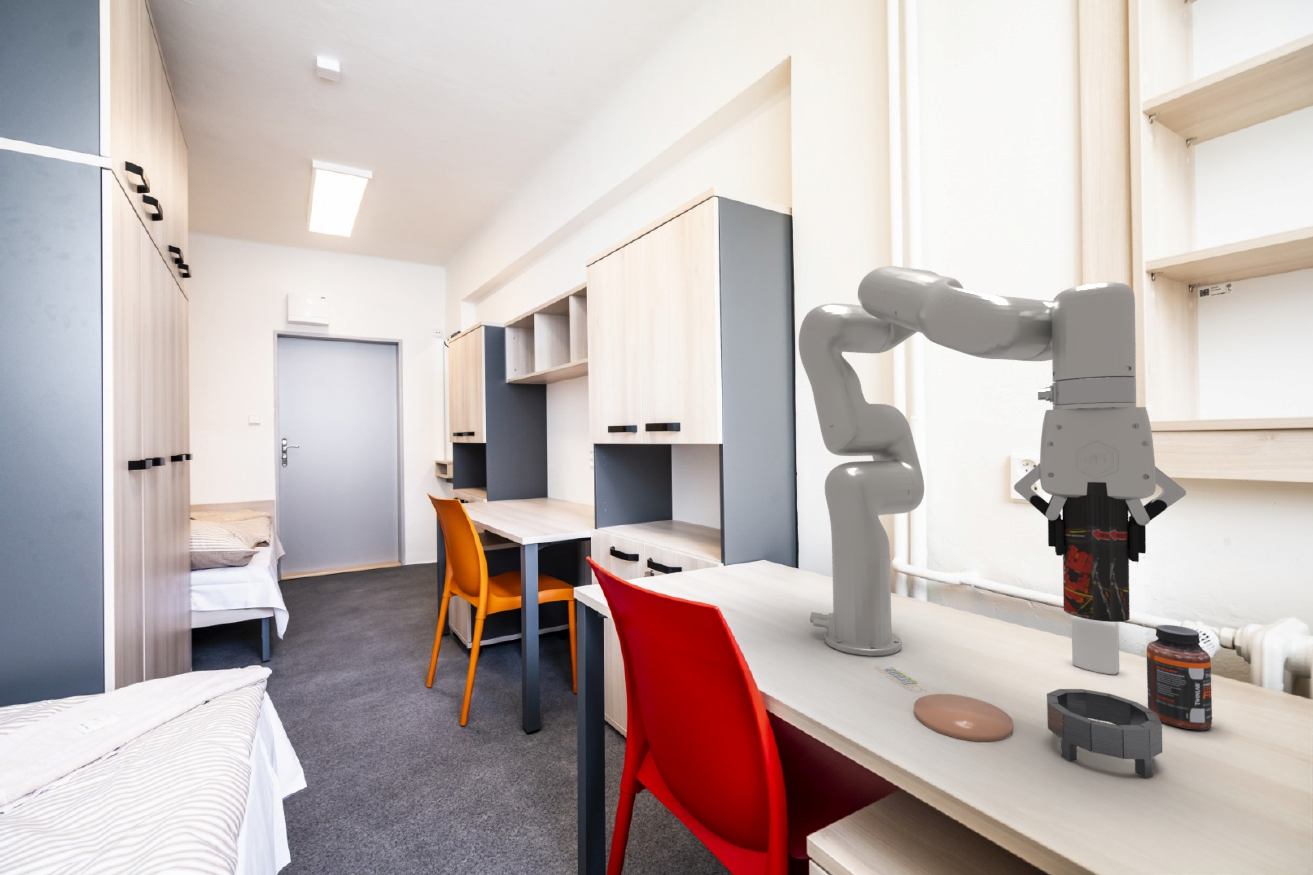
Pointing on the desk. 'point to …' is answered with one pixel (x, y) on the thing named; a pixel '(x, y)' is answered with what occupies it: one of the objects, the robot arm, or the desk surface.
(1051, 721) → the ring stand
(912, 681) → the keychain
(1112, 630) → the eye dropper bottle
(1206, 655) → the supplement bottle
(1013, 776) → the desk surface
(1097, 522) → the deodorant
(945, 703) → the coaster
